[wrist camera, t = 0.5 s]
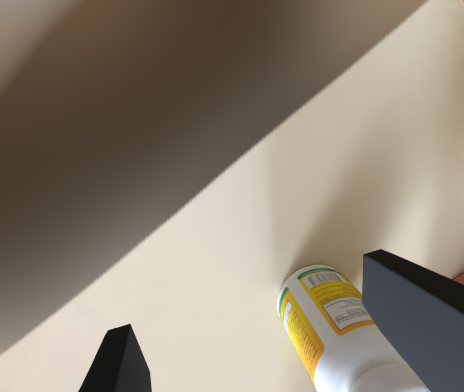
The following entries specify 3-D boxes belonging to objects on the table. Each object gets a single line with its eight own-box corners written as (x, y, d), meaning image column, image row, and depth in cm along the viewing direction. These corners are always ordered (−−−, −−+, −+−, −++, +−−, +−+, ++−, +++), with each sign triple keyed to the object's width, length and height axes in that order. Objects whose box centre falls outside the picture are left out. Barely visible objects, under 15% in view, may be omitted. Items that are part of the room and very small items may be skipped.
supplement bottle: (315, 247, 22) (419, 351, 13) (358, 290, 24) (476, 408, 15) (259, 301, 22) (321, 438, 13) (305, 340, 24) (389, 484, 15)
